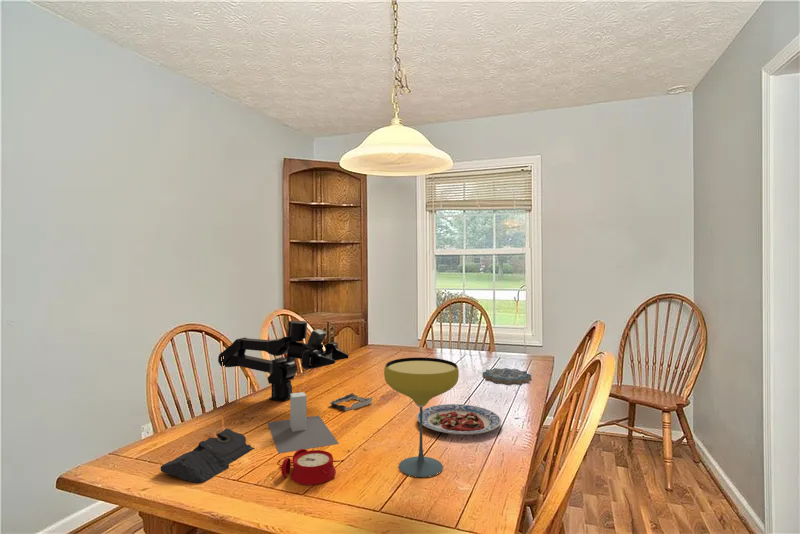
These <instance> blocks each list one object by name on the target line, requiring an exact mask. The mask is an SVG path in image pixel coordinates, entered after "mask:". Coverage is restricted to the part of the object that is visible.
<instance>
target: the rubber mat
mask: <svg viewBox="0 0 800 534" xmlns="http://www.w3.org/2000/svg"><path fill="white" fill-rule="evenodd" d="M266 423H267V426H268V429H269V431H270V432H269V433H270V434H271V437H272V440H273V442H274V445H275V448H276V451H277V453H278V454H286V453H291V452H296V451H298V450H300V449H305V450H308V449H309V450H310V449H315V448H321V447H327V446H335V445H339V444H340V443H339V441H338V440H337V439H336V437H335V436H334V434H333V433H332V431H331V430H330V429H329V428H328V426H327V424H325V422H324V421H323V419H322V418H321V417H320V415H314V416H313V415H312V416H306V430H301V431H294V432H293V431H292V429H291V427H290V418H289V419H283V420H276V421H269V422H266Z"/></svg>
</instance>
